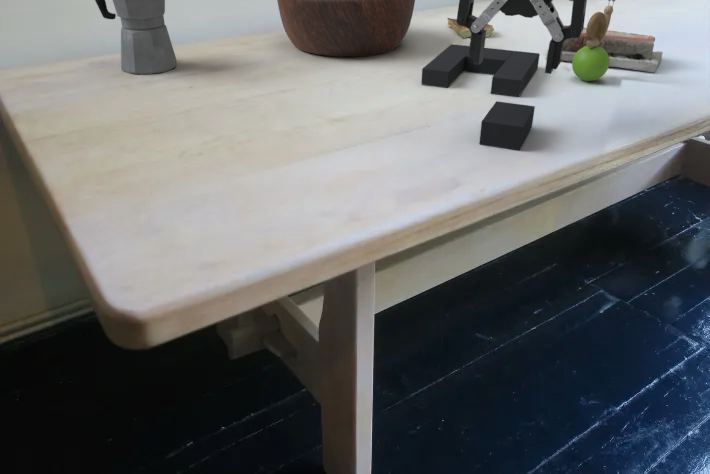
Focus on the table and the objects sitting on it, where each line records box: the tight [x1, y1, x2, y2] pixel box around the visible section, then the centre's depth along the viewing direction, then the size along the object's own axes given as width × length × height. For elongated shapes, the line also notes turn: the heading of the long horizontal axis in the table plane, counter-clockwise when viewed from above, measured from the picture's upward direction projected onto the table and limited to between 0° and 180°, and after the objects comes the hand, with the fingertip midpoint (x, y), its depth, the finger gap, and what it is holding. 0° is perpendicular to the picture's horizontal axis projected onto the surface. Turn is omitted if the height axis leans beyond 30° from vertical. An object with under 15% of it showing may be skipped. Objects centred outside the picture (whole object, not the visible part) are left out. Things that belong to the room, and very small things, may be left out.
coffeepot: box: [94, 0, 177, 75], centre depth 106 cm, size 15×9×18 cm, turn 77°
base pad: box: [421, 43, 541, 98], centre depth 105 cm, size 15×16×2 cm
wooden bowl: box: [276, 0, 416, 57], centre depth 121 cm, size 25×25×10 cm
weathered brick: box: [545, 24, 663, 73], centre depth 113 cm, size 18×5×10 cm
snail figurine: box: [571, 0, 616, 82], centre depth 102 cm, size 5×6×12 cm
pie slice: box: [447, 17, 495, 39], centre depth 132 cm, size 11×8×2 cm
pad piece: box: [478, 100, 536, 151], centre depth 83 cm, size 5×8×3 cm, turn 157°
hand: (513, 67), depth 80 cm, fingers open, 8 cm apart
